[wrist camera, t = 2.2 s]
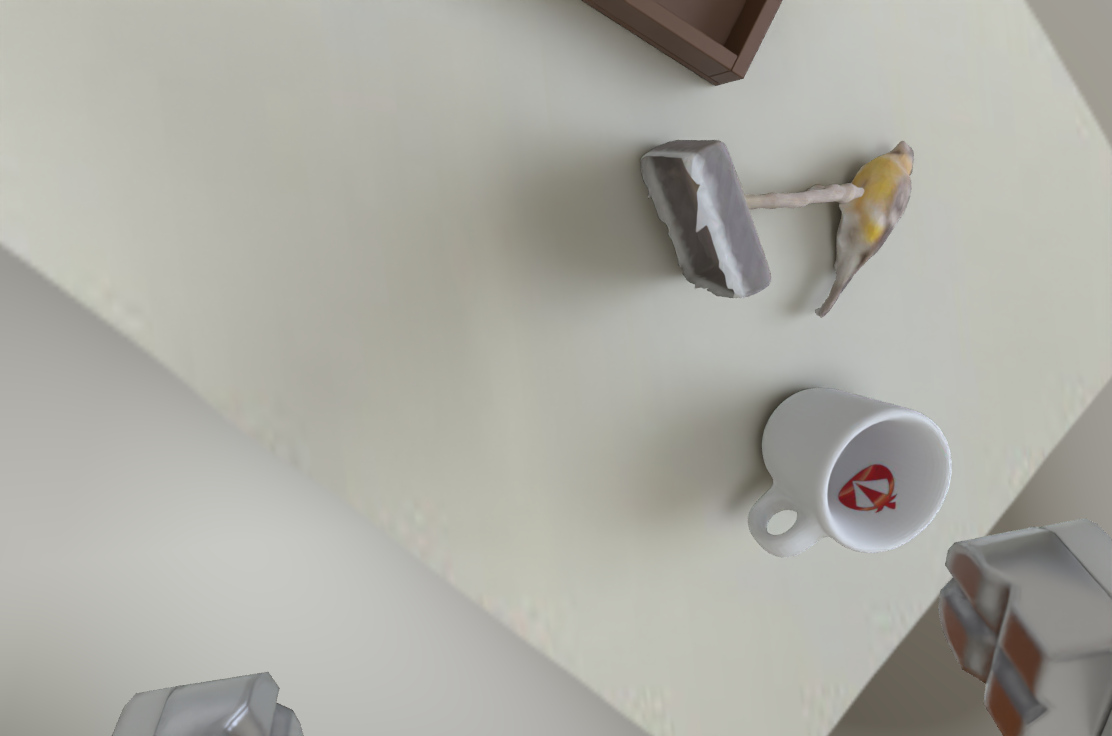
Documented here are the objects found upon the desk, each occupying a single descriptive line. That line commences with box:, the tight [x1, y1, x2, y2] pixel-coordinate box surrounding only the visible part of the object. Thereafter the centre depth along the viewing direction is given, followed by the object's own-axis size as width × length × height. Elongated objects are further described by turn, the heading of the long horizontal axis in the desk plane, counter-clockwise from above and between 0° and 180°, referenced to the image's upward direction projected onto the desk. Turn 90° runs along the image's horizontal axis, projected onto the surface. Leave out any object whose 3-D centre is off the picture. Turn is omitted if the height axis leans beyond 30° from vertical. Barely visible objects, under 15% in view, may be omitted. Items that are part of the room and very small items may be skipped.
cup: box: [748, 388, 952, 557], centre depth 44 cm, size 11×8×8 cm
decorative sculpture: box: [640, 140, 914, 317], centre depth 40 cm, size 16×10×7 cm, turn 90°
